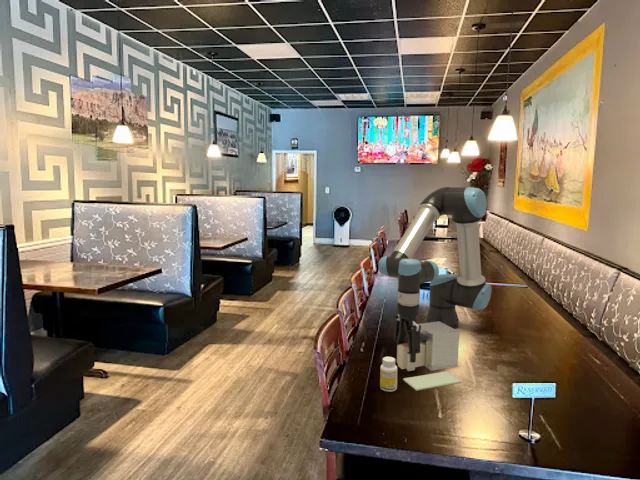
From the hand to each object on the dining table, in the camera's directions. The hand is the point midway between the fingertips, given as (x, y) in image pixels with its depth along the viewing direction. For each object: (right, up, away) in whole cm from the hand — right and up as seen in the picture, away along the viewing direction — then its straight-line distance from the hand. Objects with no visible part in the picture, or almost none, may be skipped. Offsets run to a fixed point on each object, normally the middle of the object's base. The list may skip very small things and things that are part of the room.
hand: (405, 366), depth 158 cm
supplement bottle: (-9, -3, -16) cm, 18 cm away
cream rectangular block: (+4, 0, +2) cm, 4 cm away
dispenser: (+11, 0, +4) cm, 12 cm away
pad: (+7, -2, -11) cm, 13 cm away
